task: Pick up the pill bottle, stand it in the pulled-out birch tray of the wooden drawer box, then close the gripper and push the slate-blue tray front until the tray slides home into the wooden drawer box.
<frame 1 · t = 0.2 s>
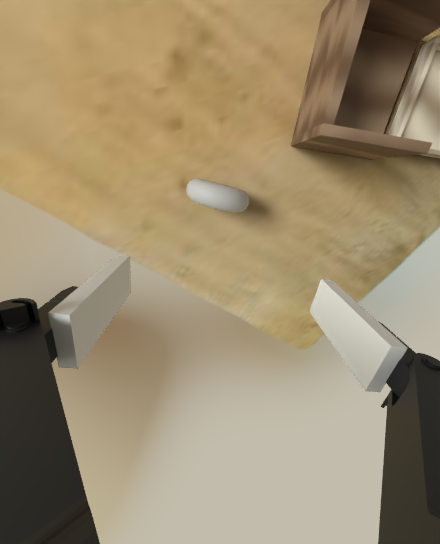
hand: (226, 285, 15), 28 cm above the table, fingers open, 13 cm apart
wooden drawer box: (348, 94, 34), on the table
donut: (217, 193, 39), on the table
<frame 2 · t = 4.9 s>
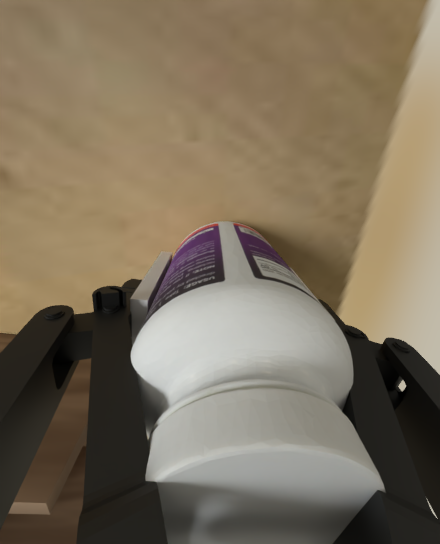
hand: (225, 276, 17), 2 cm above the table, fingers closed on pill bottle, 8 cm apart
pill bottle: (224, 267, 18), on the table, touching gripper
tray: (199, 452, 21), point 4 cm above the table, slide at 13.0 cm
wooden drawer box: (60, 396, 23), on the table
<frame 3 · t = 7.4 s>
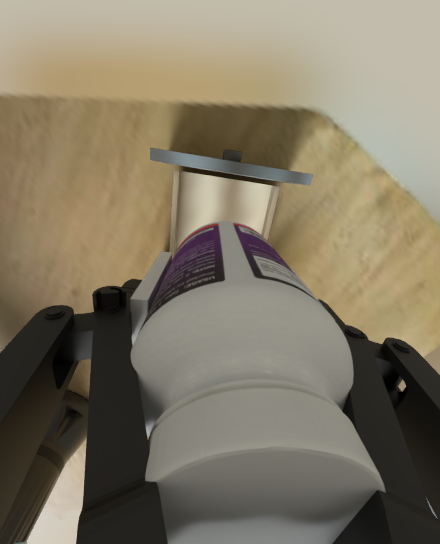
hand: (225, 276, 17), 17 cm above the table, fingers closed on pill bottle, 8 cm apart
pill bottle: (224, 267, 18), point 15 cm above the table, touching gripper
tray: (222, 219, 27), point 4 cm above the table, slide at 13.0 cm
when the fingers open (5 cm above the table, at t = 9.9 s): pill bottle drops 1 cm, resting on tray.
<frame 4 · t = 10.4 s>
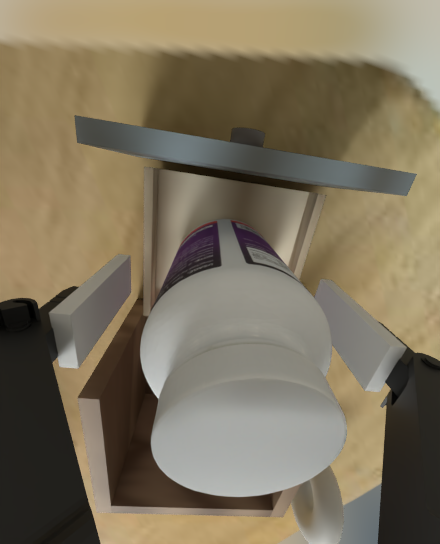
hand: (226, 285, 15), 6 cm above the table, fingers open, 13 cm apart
pill bottle: (223, 261, 20), point 2 cm above the table, touching tray
tray: (228, 249, 16), point 5 cm above the table, slide at 13.0 cm, touching pill bottle
wooden drawer box: (206, 356, 26), on the table
donut: (299, 450, 35), on the table
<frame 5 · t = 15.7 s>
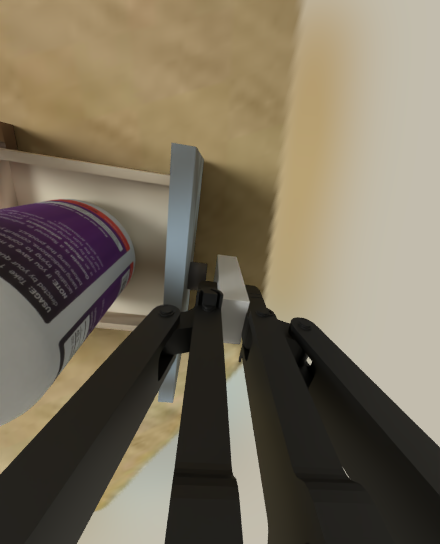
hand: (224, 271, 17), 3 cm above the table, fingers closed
pill bottle: (89, 249, 18), point 2 cm above the table, touching tray
tray: (100, 264, 15), point 5 cm above the table, slide at 12.5 cm, touching gripper, pill bottle
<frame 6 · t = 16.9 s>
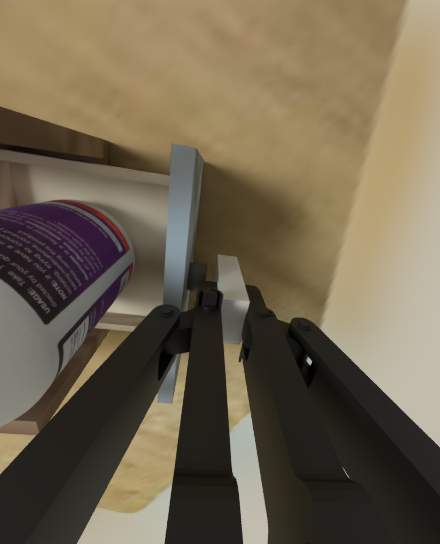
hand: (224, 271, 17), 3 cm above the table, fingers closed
pill bottle: (89, 249, 18), point 2 cm above the table, touching tray
tray: (100, 265, 15), point 4 cm above the table, slide at 5.9 cm, touching gripper, pill bottle
wooden drawer box: (29, 233, 19), on the table
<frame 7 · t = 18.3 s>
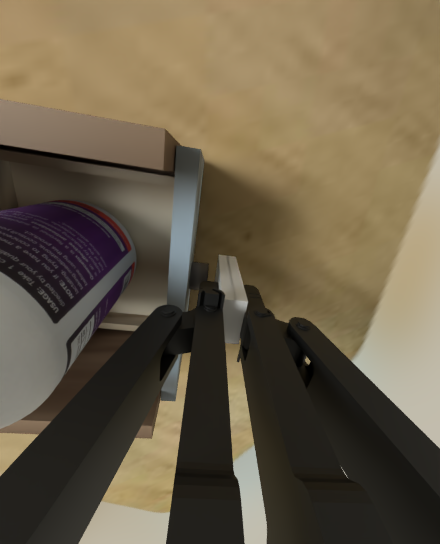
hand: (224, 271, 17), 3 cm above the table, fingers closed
pill bottle: (90, 249, 18), point 2 cm above the table, touching tray
tray: (102, 265, 15), point 5 cm above the table, slide at -0.1 cm, touching gripper, pill bottle
wooden drawer box: (102, 243, 19), on the table
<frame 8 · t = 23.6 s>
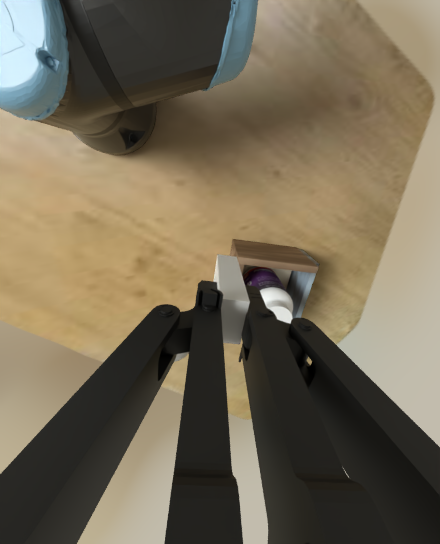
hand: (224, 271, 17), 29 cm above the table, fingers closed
pill bottle: (258, 280, 49), point 2 cm above the table, touching tray
tray: (270, 287, 46), point 4 cm above the table, slide at 0.0 cm, touching pill bottle
wooden drawer box: (257, 277, 50), on the table
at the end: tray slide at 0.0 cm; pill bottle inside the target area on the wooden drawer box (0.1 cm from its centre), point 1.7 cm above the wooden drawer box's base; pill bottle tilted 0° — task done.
